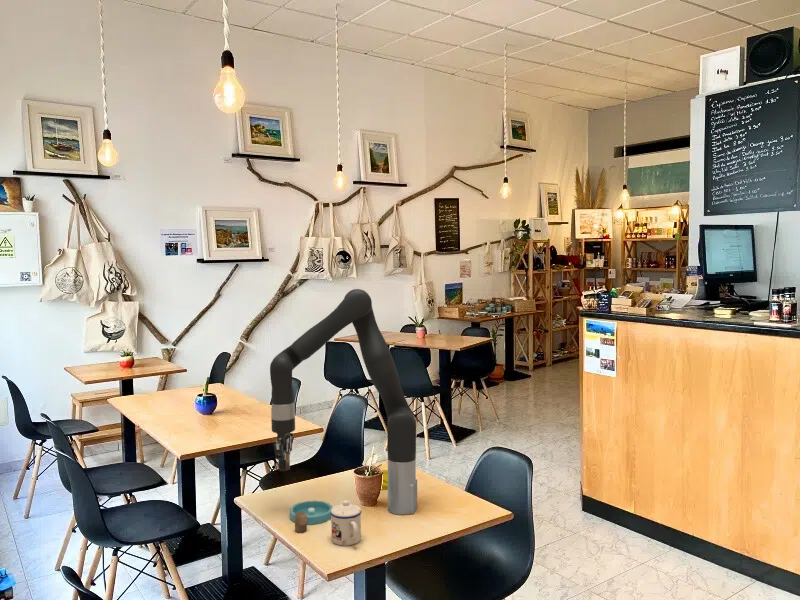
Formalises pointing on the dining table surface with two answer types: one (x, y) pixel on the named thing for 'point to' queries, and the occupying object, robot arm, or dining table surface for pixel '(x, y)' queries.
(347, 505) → the teacup with lid
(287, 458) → the walnut bead
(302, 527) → the walnut bead
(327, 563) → the dining table surface
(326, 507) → the groove tray
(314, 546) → the dining table surface
